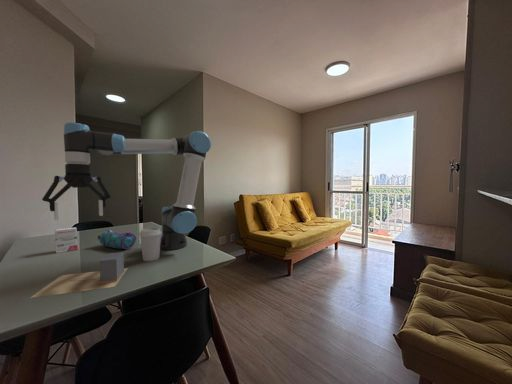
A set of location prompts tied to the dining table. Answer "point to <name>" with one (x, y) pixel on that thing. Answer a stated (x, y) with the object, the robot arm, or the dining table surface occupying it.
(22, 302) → the dining table surface
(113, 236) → the pencil case
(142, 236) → the coffee cup
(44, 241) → the dining table surface
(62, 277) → the board
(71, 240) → the ink box
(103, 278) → the block
